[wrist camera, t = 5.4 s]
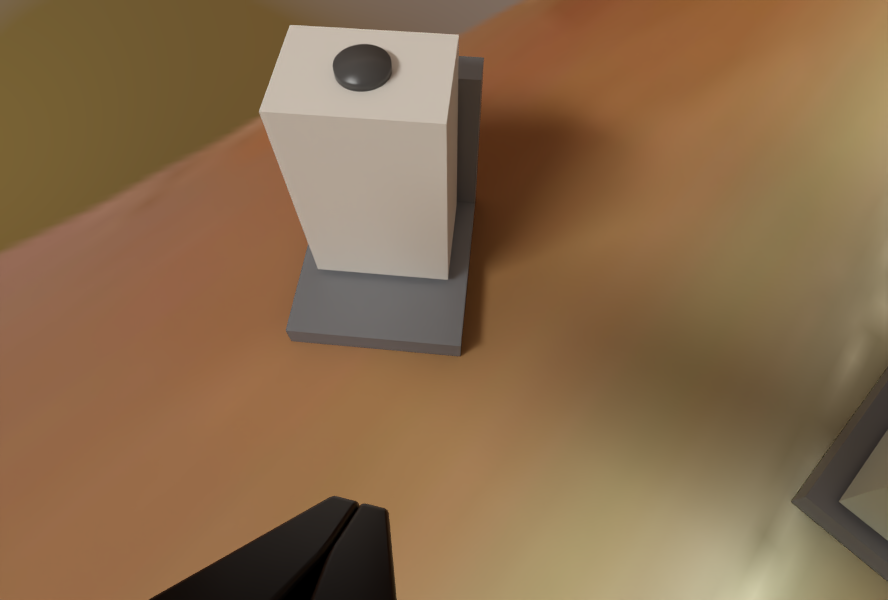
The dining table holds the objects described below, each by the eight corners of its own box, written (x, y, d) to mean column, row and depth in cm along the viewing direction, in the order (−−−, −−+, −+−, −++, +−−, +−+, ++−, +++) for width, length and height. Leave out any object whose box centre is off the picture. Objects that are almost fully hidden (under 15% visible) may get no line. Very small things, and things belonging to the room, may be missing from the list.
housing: (460, 356, 24) (463, 248, 17) (291, 340, 25) (229, 229, 18) (475, 196, 29) (483, 57, 22) (330, 185, 29) (292, 46, 22)
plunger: (448, 279, 25) (446, 116, 17) (318, 268, 25) (256, 103, 17) (456, 204, 27) (458, 26, 19) (335, 195, 27) (287, 16, 19)
